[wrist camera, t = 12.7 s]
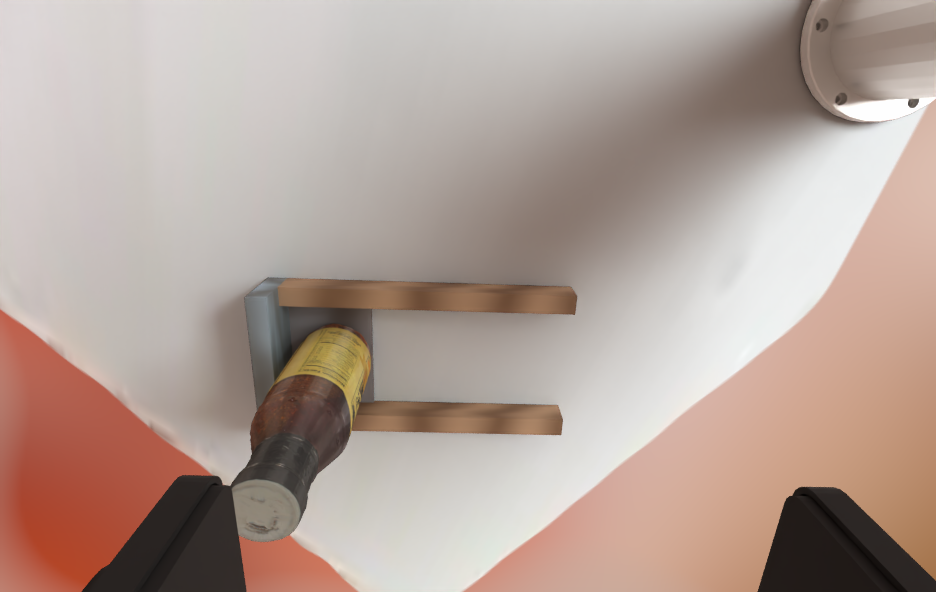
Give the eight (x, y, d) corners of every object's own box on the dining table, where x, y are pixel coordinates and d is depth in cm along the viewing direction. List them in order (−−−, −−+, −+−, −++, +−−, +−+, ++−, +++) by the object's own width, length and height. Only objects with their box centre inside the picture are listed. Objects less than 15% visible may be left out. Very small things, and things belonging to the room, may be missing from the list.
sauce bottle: (340, 396, 46) (259, 586, 27) (288, 350, 45) (164, 519, 26) (391, 352, 45) (344, 521, 26) (339, 302, 43) (249, 445, 24)
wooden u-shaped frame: (571, 286, 43) (584, 307, 39) (556, 420, 48) (567, 453, 43) (267, 277, 43) (244, 297, 38) (281, 413, 47) (261, 447, 42)
